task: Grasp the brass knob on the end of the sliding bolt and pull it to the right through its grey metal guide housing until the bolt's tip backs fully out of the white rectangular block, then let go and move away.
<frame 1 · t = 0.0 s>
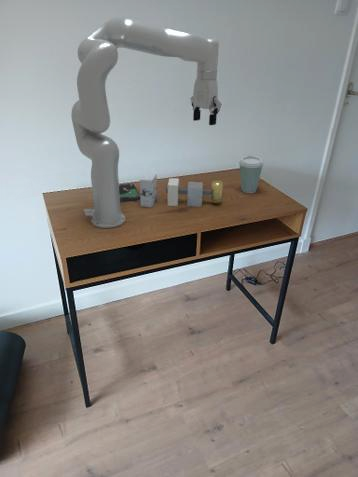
hand: (204, 122, 146), 31 cm above the table, tool pointing down, fingers open, 9 cm apart
ink box: (149, 203, 153), on the table
guide housing: (194, 202, 154), on the table
disk drive: (125, 196, 160), on the table
sliding bolt: (194, 190, 151), point 6 cm above the table, slide at 0.0 cm
disposable coffee cup: (247, 191, 166), on the table
white rectangular block: (173, 201, 154), on the table
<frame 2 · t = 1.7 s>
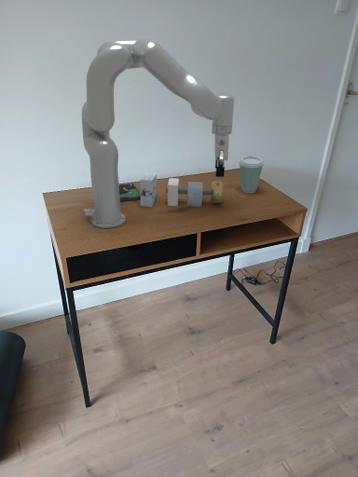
hand: (219, 172, 146), 14 cm above the table, tool pointing down, fingers open, 9 cm apart
nothing on the table moved.
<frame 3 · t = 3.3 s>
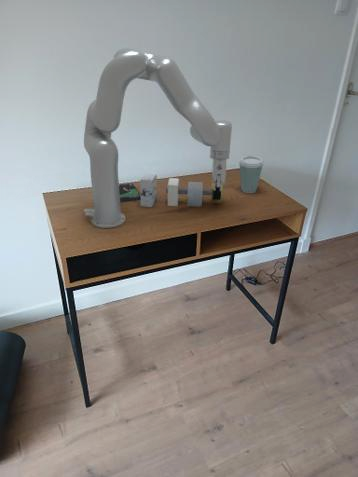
hand: (216, 196, 151), 3 cm above the table, tool pointing down, fingers closed on sliding bolt, 4 cm apart
sliding bolt: (194, 190, 151), point 5 cm above the table, slide at 0.0 cm, touching gripper
everything else where it was.
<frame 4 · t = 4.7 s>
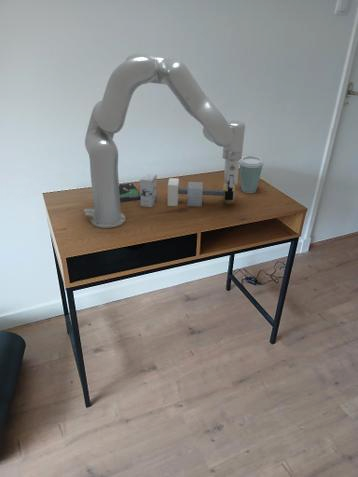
hand: (228, 196, 151), 3 cm above the table, tool pointing down, fingers closed on sliding bolt, 4 cm apart
sliding bolt: (206, 191, 151), point 6 cm above the table, slide at 4.9 cm, touching gripper
everything else where it was.
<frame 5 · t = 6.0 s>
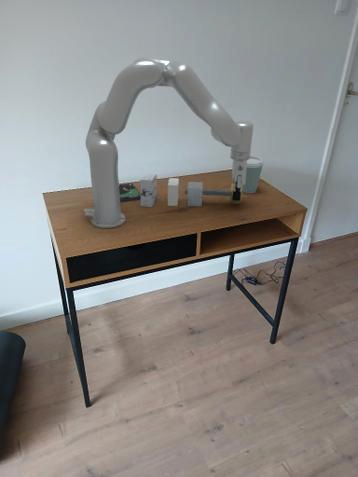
hand: (235, 197, 151), 3 cm above the table, tool pointing down, fingers closed on sliding bolt, 4 cm apart
sliding bolt: (213, 191, 150), point 5 cm above the table, slide at 7.9 cm, touching gripper
everything else where it was.
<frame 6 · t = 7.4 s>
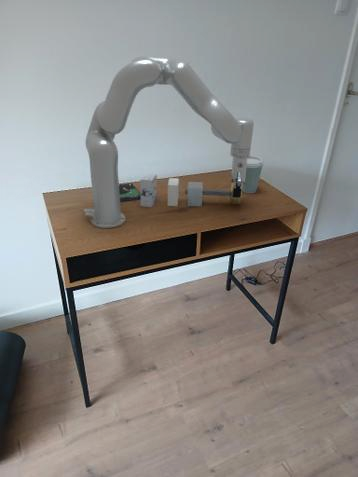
hand: (235, 192, 150), 5 cm above the table, tool pointing down, fingers open, 9 cm apart
sliding bolt: (213, 191, 150), point 6 cm above the table, slide at 7.9 cm
everything else where it was.
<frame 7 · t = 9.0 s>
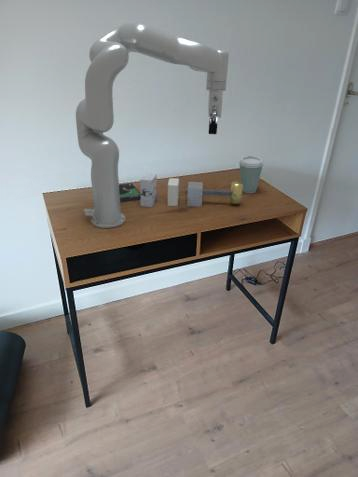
hand: (212, 131, 148), 28 cm above the table, tool pointing down, fingers open, 9 cm apart
nothing on the table moved.
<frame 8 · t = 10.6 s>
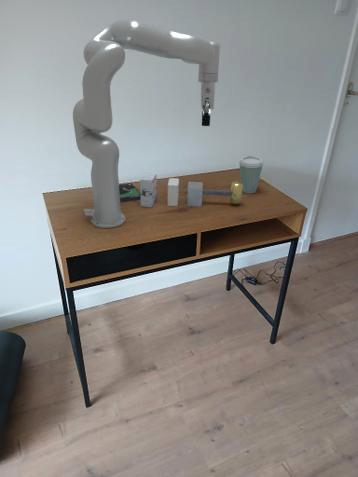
hand: (205, 123, 149), 30 cm above the table, tool pointing down, fingers open, 9 cm apart
nothing on the table moved.
at the end: sliding bolt slide at 7.9 cm; the gripper is holding nothing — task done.
